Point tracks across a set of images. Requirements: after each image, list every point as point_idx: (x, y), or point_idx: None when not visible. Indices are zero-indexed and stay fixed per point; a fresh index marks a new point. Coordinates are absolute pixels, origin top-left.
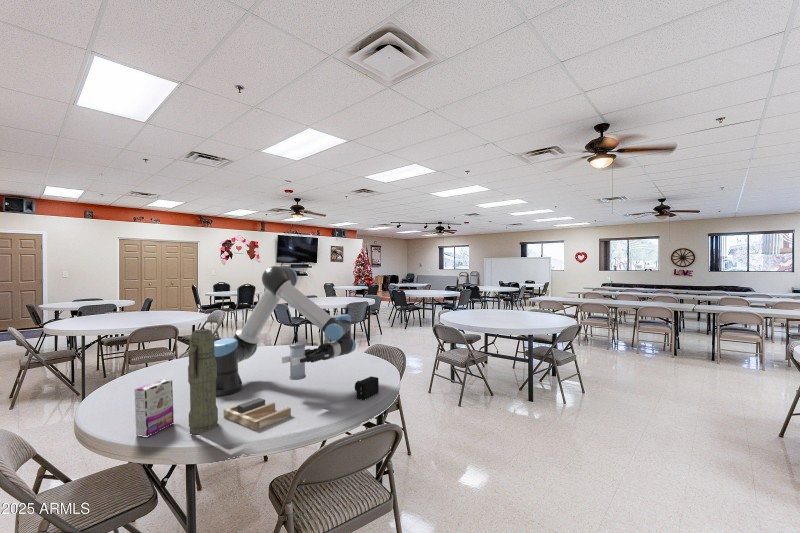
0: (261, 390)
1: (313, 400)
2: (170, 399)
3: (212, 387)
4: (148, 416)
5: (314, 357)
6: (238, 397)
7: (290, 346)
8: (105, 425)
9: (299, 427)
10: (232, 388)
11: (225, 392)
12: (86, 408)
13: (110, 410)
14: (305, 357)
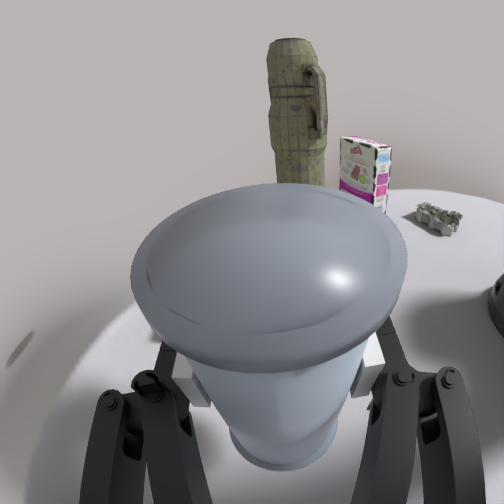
0: (488, 392)
1: (223, 483)
2: (370, 180)
3: (278, 163)
4: (341, 178)
5: (100, 424)
6: (462, 327)
7: (274, 188)
8: (419, 196)
9: (128, 326)
10: (500, 311)
11: (491, 302)
12: (486, 199)
13: (472, 206)
14: (177, 380)
